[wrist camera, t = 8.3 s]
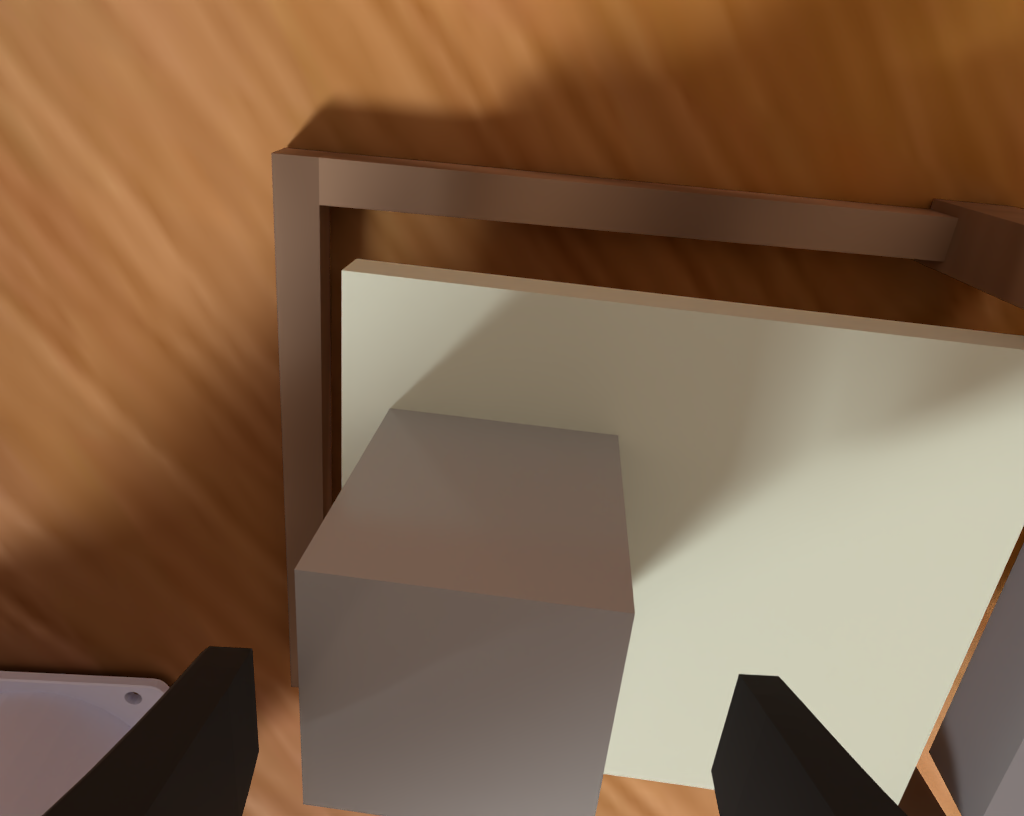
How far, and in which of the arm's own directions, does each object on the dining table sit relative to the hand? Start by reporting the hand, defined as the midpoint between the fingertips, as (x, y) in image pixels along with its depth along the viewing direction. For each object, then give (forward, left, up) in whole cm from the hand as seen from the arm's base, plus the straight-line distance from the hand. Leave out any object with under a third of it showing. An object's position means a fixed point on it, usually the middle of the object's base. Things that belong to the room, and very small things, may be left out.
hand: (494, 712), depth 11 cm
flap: (+7, -1, -6) cm, 9 cm away
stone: (0, 0, -5) cm, 5 cm away
